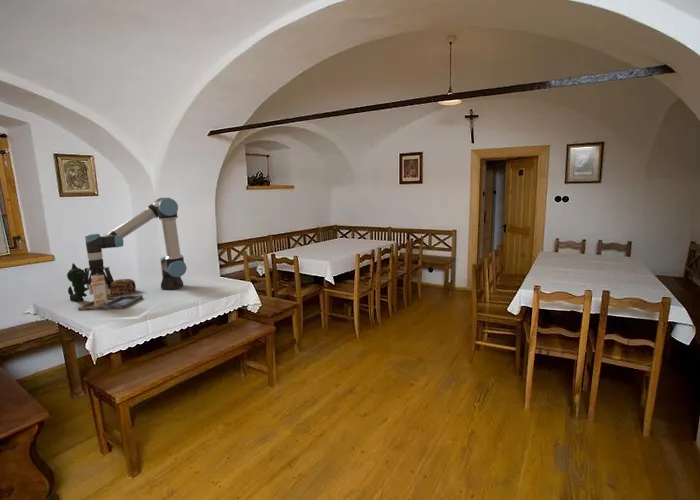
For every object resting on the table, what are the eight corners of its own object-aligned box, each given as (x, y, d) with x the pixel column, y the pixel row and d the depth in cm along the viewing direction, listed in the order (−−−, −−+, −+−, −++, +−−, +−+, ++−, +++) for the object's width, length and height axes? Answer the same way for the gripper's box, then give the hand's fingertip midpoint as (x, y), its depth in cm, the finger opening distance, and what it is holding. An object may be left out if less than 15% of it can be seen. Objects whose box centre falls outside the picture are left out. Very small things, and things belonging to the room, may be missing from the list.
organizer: (143, 298, 250) (142, 295, 250) (124, 308, 228) (124, 305, 228) (100, 299, 249) (100, 296, 249) (78, 310, 227) (77, 307, 227)
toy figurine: (76, 304, 240) (71, 265, 236) (62, 300, 249) (56, 263, 245) (92, 300, 248) (87, 262, 244) (78, 296, 257) (73, 260, 253)
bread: (106, 298, 252) (104, 283, 251) (101, 295, 260) (99, 281, 258) (136, 292, 266) (135, 278, 264) (131, 289, 273) (129, 276, 272)
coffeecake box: (108, 306, 234) (104, 275, 231) (94, 308, 230) (90, 277, 227) (108, 301, 246) (104, 271, 243) (95, 303, 243) (91, 273, 240)
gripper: (117, 257, 238) (121, 291, 241) (80, 258, 237) (85, 293, 241) (110, 259, 230) (115, 295, 234) (72, 260, 230) (77, 296, 233)
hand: (100, 294), depth 237 cm, fingers closed on coffeecake box, 10 cm apart
